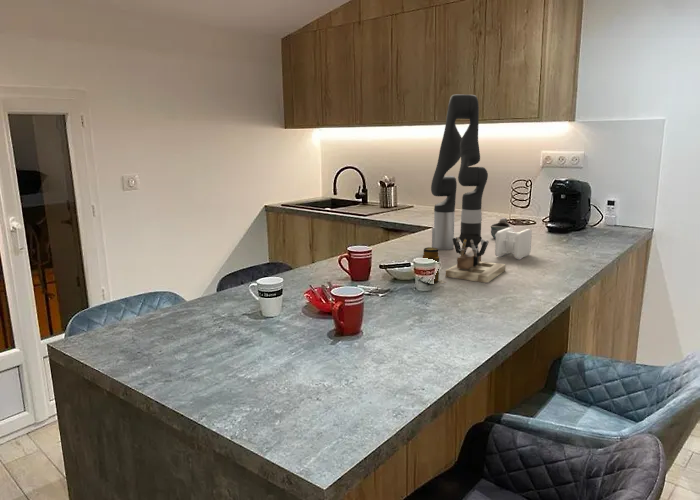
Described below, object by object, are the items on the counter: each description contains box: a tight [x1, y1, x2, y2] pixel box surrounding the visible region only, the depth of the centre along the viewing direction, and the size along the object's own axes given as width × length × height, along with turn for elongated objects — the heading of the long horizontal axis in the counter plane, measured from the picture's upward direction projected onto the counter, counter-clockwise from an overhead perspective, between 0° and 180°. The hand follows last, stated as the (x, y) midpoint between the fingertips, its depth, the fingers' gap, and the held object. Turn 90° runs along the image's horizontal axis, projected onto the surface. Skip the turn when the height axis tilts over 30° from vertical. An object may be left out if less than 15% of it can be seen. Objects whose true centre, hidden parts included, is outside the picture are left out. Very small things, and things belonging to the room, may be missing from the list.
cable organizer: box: [494, 227, 533, 261], centre depth 224 cm, size 15×11×12 cm
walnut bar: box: [456, 249, 482, 271], centre depth 200 cm, size 4×14×6 cm, turn 146°
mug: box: [490, 217, 512, 240], centre depth 262 cm, size 10×12×10 cm
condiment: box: [422, 246, 447, 285], centre depth 189 cm, size 7×8×12 cm
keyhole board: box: [445, 260, 507, 284], centre depth 199 cm, size 16×20×2 cm
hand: (469, 265), depth 200 cm, fingers closed on walnut bar, 4 cm apart
